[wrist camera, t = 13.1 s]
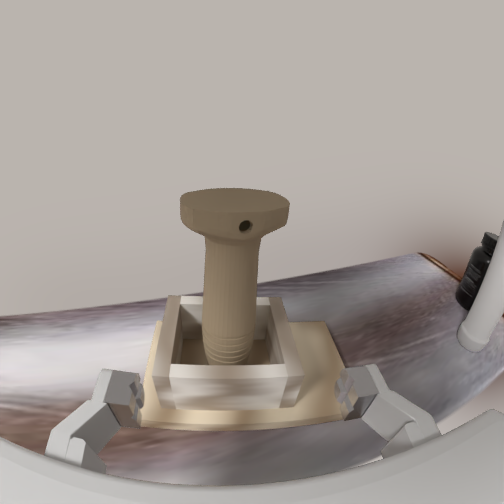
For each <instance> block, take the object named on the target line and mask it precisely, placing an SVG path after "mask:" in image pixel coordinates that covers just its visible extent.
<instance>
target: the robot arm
mask: <svg viewBox="0 0 504 504" xmlns="http://www.w3.org/2000/svg"><path fill="white" fill-rule="evenodd" d="M334 393H335V398H336V400H337V401H338V402H339V403H340V404H341V406H340V411H341V414H342V417H343V420H344V421H346V420H351V419H356V418H361V419H362V420H364V421H365V422H366V423H367V424H368V425H369V426H370V427H371V428H373V429H374V430H375V431H376V432H377V433H378V434H379V435H381V436H382V437H383V438H384V439H385V440H386V441H388V442H389V443H388V444H387V445H386V446H385V447H384V448H383V449H382V450H381V454H382V457H383V459H382V460H378V461H375V462H372V463H369V464H365V465H362V466H358V467H354V468H351V469H347V470H343V471H339V472H334V473H330V474H325V475H320V476H315V477H310V478H304V479H297V480H291V481H283V482H275V483H265V484H252V485H232V486H201V485H181V484H168V483H158V482H150V481H143V480H136V479H130V478H124V477H119V476H114V475H109V474H106V467H107V465H106V464H105V463H104V462H103V461H102V460H101V459H100V457H99V456H98V455H97V454H98V453H99V452H100V451H101V450H102V448H103V447H104V446H105V445H106V444H107V443H108V442H109V440H110V439H111V438H112V437H113V436H114V435H115V434H116V432H117V431H118V430H119V429H120V428H121V427H130V428H139V429H140V427H141V420H142V414H141V411H140V409H141V408H142V407H143V406H144V400H145V393H144V388H143V385H142V384H140V376H139V373H131V372H123V371H116V370H109V369H102V370H101V372H100V374H99V377H98V380H97V383H96V387H95V390H94V393H93V396H92V400H87V401H86V402H85V403H84V404H82V405H81V406H80V407H79V408H78V409H76V410H75V411H74V412H73V413H72V414H70V415H69V416H68V417H67V418H65V419H64V420H63V421H62V422H61V423H59V424H58V425H57V426H56V427H55V428H53V429H52V431H51V434H50V437H49V441H48V444H47V447H46V451H45V455H41V454H38V453H36V452H33V451H31V450H28V449H26V448H23V447H21V446H19V445H16V444H14V443H12V442H10V441H8V440H6V439H4V438H2V437H0V504H504V414H503V413H501V412H499V411H497V410H494V409H491V410H488V411H486V412H484V413H482V414H481V415H479V416H477V417H476V418H474V419H472V420H471V421H469V422H467V423H465V424H463V425H461V426H459V427H458V428H456V429H454V430H452V431H450V432H448V433H446V434H444V435H441V433H440V431H439V429H438V427H437V425H436V423H435V422H434V420H433V418H432V416H431V414H429V413H428V412H426V411H424V410H423V409H421V408H420V407H418V406H417V405H415V404H413V403H412V402H410V401H409V400H407V399H406V398H404V397H402V396H401V395H399V394H398V393H396V392H395V391H390V389H389V387H388V386H387V384H386V382H385V380H384V378H383V376H382V374H381V372H380V371H379V369H378V367H377V365H375V364H370V365H364V366H363V365H362V366H356V367H350V368H344V369H342V370H341V372H340V378H339V379H338V380H337V381H336V383H335V386H334ZM120 426H121V427H120Z"/></svg>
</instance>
